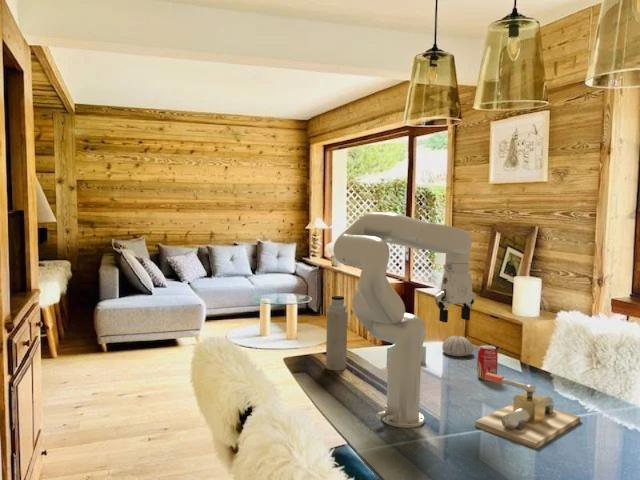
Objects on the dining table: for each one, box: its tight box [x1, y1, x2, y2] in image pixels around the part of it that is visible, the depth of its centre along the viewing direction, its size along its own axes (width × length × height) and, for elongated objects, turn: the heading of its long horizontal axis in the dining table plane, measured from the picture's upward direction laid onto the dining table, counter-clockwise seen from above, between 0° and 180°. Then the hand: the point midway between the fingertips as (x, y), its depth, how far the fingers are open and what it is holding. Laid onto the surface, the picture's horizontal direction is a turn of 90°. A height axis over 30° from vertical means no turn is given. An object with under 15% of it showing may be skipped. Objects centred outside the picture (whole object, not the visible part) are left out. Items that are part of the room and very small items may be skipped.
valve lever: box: [484, 372, 536, 394], centre depth 153 cm, size 15×3×2 cm, turn 41°
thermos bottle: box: [325, 295, 349, 371], centre depth 198 cm, size 8×8×28 cm
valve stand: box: [474, 391, 581, 450], centre depth 148 cm, size 28×18×9 cm, turn 131°
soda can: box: [476, 344, 499, 381], centre depth 189 cm, size 7×7×12 cm
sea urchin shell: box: [441, 335, 474, 357], centre depth 222 cm, size 13×14×8 cm
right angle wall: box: [386, 343, 427, 366], centre depth 206 cm, size 12×12×8 cm
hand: (454, 320), depth 165 cm, fingers open, 9 cm apart
